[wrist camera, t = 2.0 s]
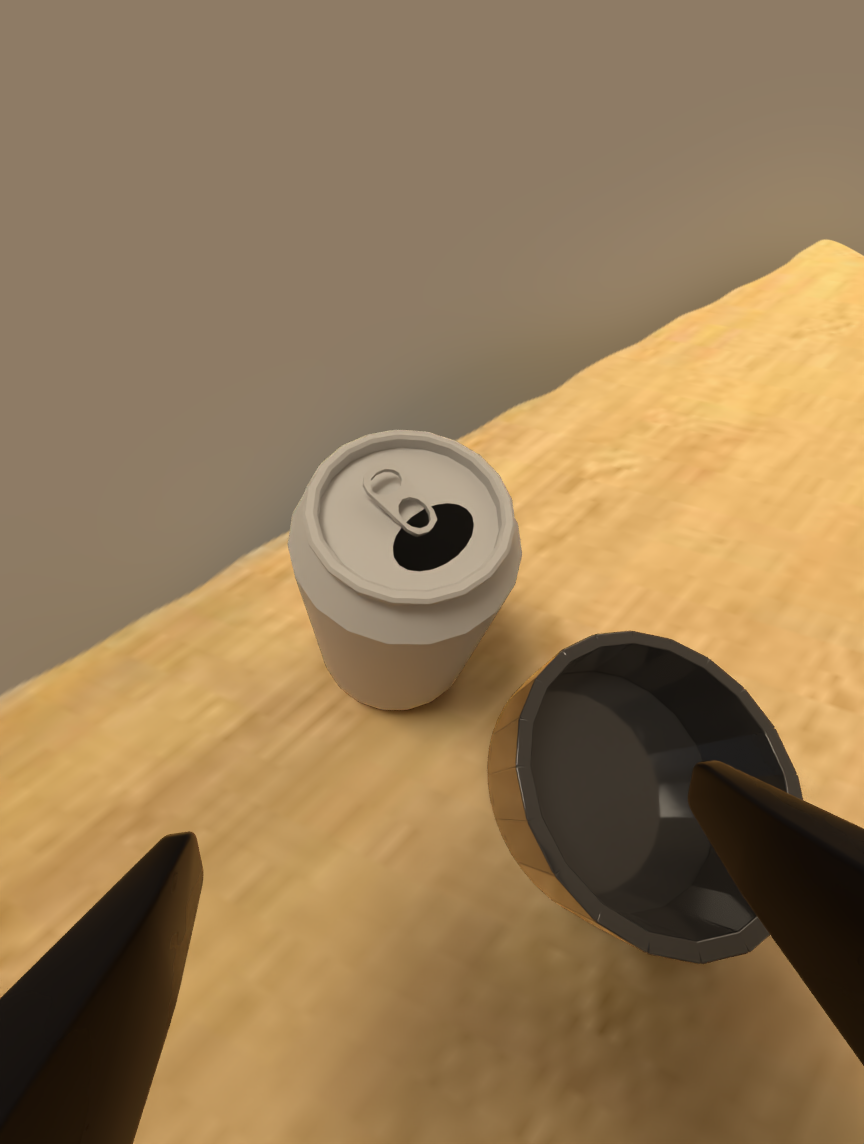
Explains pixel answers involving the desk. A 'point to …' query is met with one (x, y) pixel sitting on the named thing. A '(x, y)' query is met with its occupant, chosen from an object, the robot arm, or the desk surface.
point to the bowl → (631, 790)
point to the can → (403, 562)
